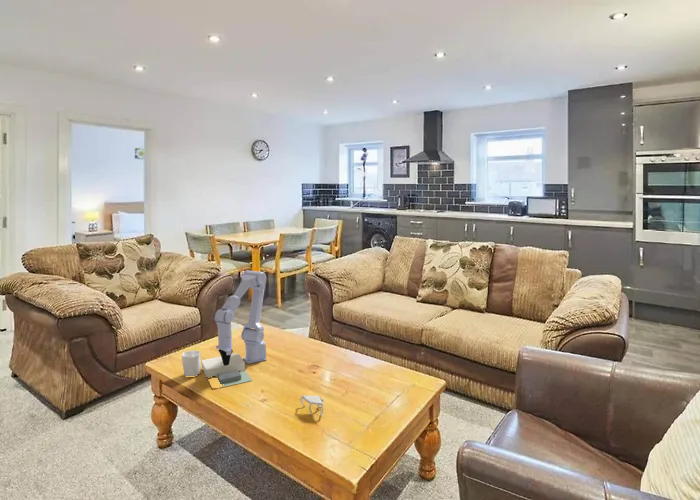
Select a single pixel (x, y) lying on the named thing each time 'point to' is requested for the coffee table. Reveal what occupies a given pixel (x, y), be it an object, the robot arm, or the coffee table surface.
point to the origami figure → (313, 401)
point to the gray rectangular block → (229, 377)
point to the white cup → (191, 363)
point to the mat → (244, 378)
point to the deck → (222, 365)
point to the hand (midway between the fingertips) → (226, 364)
